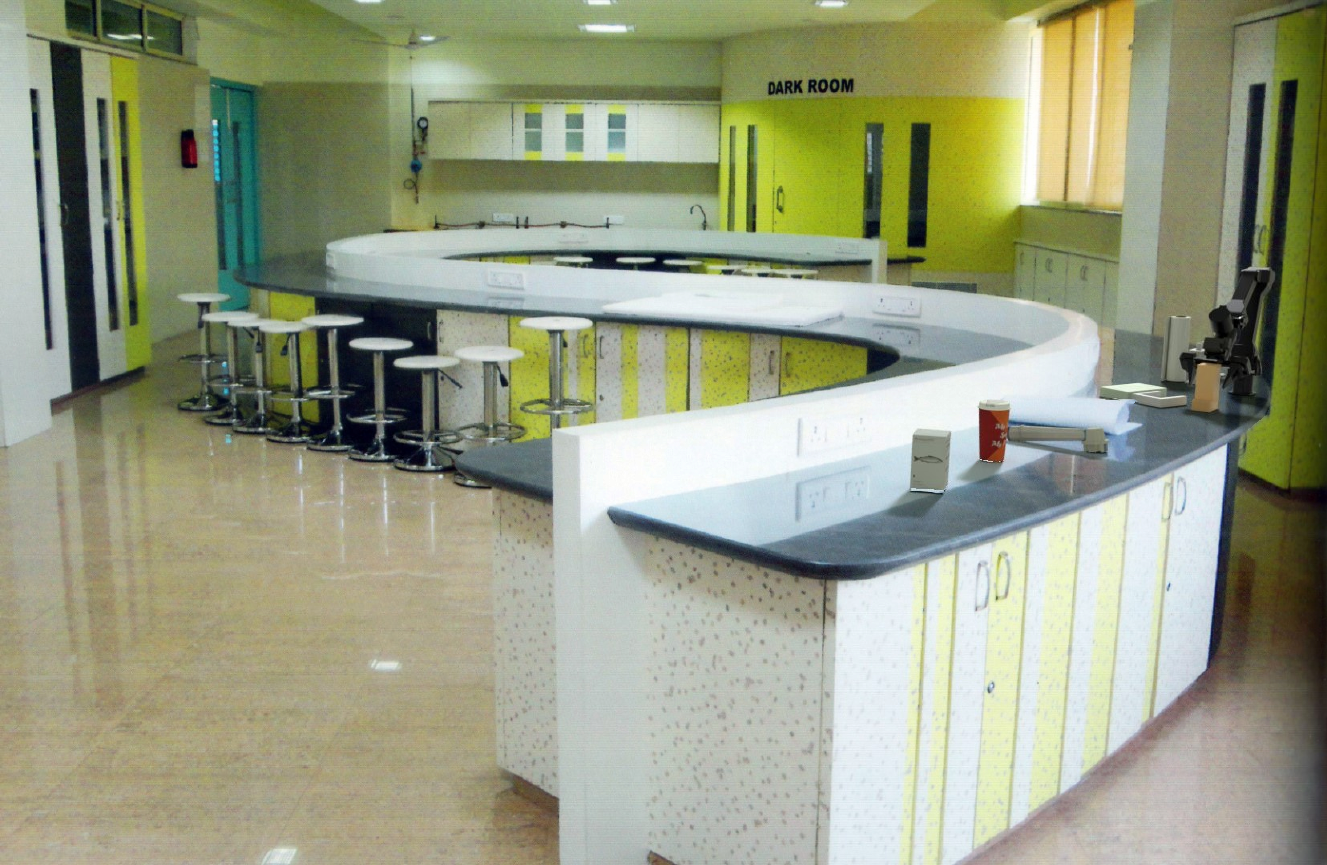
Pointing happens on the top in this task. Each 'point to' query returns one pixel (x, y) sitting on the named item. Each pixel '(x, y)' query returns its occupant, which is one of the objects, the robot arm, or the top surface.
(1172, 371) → the paper towel roll
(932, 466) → the supplement box
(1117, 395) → the cream stepped slab
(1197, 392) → the tan footed upright block
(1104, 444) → the grey piece
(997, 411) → the paper cup
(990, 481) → the top surface
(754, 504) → the top surface
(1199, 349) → the test tube rack
